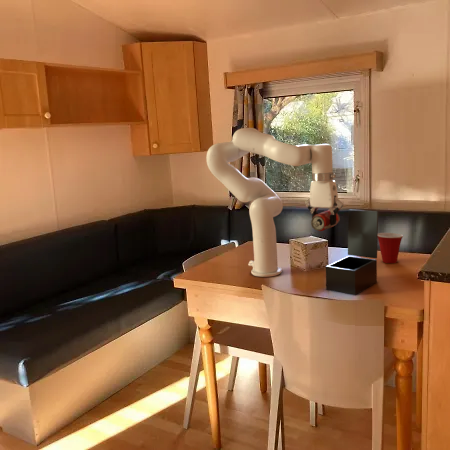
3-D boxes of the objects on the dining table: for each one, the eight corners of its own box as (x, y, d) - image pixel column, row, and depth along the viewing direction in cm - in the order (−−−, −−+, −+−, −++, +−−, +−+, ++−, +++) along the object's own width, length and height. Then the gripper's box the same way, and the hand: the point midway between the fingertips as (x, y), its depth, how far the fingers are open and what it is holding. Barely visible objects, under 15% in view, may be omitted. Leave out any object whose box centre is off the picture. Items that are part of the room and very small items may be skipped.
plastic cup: (409, 261, 209) (409, 233, 207) (392, 266, 203) (392, 237, 201) (387, 256, 218) (387, 230, 215) (371, 261, 212) (371, 234, 210)
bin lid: (377, 211, 180) (378, 211, 181) (348, 209, 188) (349, 209, 189) (376, 258, 182) (377, 258, 183) (347, 254, 190) (348, 254, 191)
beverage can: (308, 231, 188) (308, 214, 187) (323, 225, 197) (323, 209, 196) (326, 233, 183) (325, 215, 182) (340, 226, 193) (339, 209, 191)
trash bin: (355, 295, 173) (354, 270, 171) (326, 289, 180) (325, 266, 179) (376, 282, 184) (376, 259, 183) (348, 277, 192) (348, 255, 191)
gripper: (348, 176, 183) (349, 223, 187) (308, 176, 195) (310, 220, 198) (338, 178, 178) (339, 227, 181) (297, 178, 190) (299, 224, 193)
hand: (324, 223), depth 190 cm, fingers closed on beverage can, 7 cm apart
